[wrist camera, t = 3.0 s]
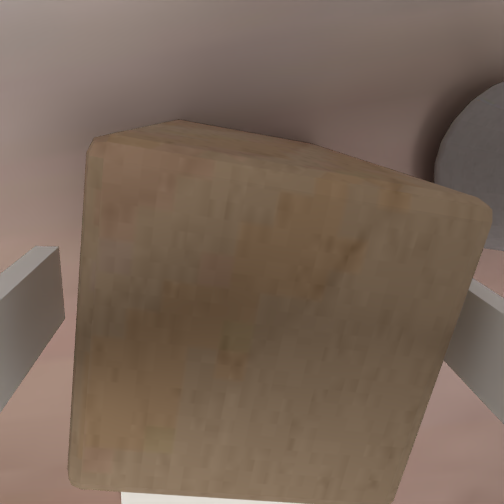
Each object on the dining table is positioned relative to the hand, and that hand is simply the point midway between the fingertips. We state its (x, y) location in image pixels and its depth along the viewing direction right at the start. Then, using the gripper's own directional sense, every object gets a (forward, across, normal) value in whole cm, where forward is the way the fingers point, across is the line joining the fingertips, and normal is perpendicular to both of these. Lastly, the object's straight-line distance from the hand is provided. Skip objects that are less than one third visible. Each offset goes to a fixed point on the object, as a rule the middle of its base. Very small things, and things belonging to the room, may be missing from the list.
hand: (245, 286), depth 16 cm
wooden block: (+15, 0, 0) cm, 15 cm away
